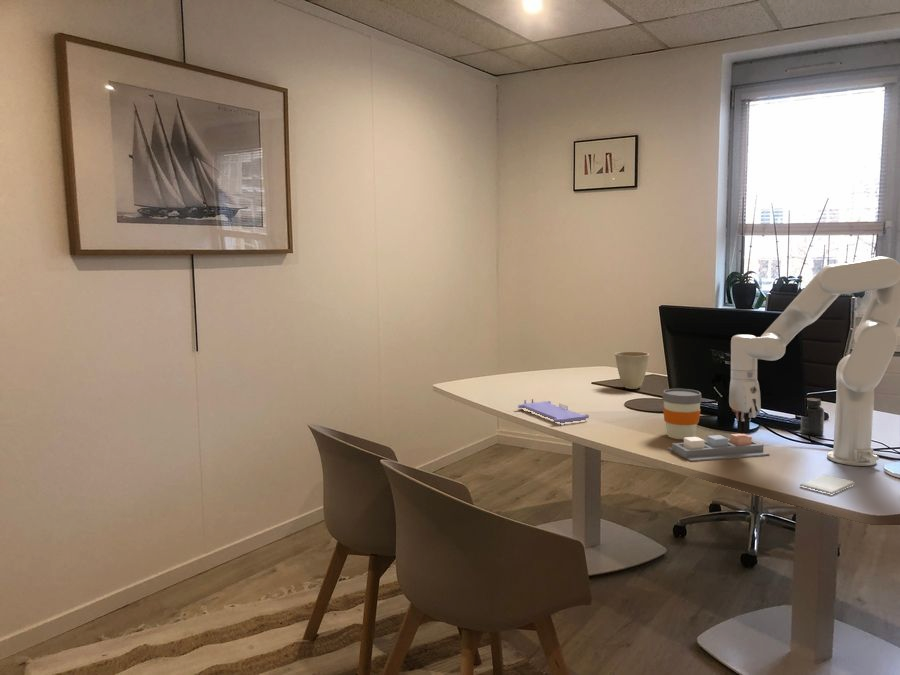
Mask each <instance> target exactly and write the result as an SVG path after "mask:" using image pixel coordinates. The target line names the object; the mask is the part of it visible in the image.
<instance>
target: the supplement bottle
mask: <svg viewBox="0 0 900 675" xmlns="http://www.w3.org/2000/svg"><path fill="white" fill-rule="evenodd" d="M806 398H807V407H808V417H802V416H801V415H800V433H801V434H802V435H803V434H804V436H807V435H809V436H808V437H821V436H823V435H824V431H825V430H824V425H825V423H824V422H825V410H824V408H823V407H822V400H821V398H815V397H806Z"/></svg>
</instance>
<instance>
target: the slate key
mask: <svg viewBox="0 0 900 675" xmlns="http://www.w3.org/2000/svg"><path fill="white" fill-rule="evenodd" d="M706 438H707V439H706V441H707V445H709V446H711V447H724V446H728V439H729V438H727V437H725V436H723V435H721V434H715V435H707V437H706Z"/></svg>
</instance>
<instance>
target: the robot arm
mask: <svg viewBox="0 0 900 675" xmlns="http://www.w3.org/2000/svg"><path fill="white" fill-rule="evenodd" d="M868 291H871V296H870V300H869V302H868V305H867V306H866V309H865V311H864V314H863V315H862V318H861V320H860V323H859V324H858V326H857V328H856V329H855V330H854V331H855V332H854V335H853V337H854V342H855V344H854V346H853V348H852V350H851V352H850V354H847V355H845V356H843V357H842V358H841V359H840V360H839V361H838V364H837V366H836V374H835V375H836V376H835V377H836V378H835V379H836V383H835V384H836V396H835V397H836V398H835V399H836V400H835V409H834V410H835V411H834V414H835V415H834V431H833V432H834V433H833V449H832V450H831V451H829V452H827V455H826V457H827V459H829V460H830V461H832V462H835V463H837V464H841V465H847V466H852V467H853V466H856V467H869V466H874V465H876V464H877V461H879V460H880V457H879V455H876V454H874V448H872V437H873V436H872V434H873V420H874V419H873V417H874V416H873V415H874V405H875V388H876V387H877V386H878V385H879V384H880V382H881V380H882V379H883V376H885V373H886V371H887V369H888V367H889V365H890V363H891V360H892V359H893V356H894V354H895V352H896V350H897V347H898V341H899V340H898V334H897V331H896V327H897V325H898V323H899V321H900V263H899V261H897V260H896V259H894V258H892V257H888V256H881V255H880V256H875V257H871V258H868V259H866V260H859V261H854V262H847V263H830V264H827V265H826V266H824V267H822V269H820V270H819V271H818V272H817V273H816V275H815V276H814V277H813V278H812V279H811V280H810V281H809V282H808V284H806V286H805V287H804V288H803V289H802V290H801V291H800V292H799V294H797V295H796V297H794V299H793V300H792V301H791V302H790V303H789V304H788V306H786V308H785V309H784V310H783V311H782V313H780V314H779V316H778V317H777V318H776V319H775V320H774V321H773V322H772V323H771V324H770V325H769V326H768V327H767V329H766V330H765V331H764V332H763V333H762V334H761V335H760V336H756V335H753V334H735V335H733V336H732V337H731V340H730V382H729V393H728V403H729V407H730V408H731V411H732V412H734V414H735V417H736V418H735V419H736V423H737V425H736V426H737V428H736V430H737V434H746V435H747V434H750V432H751V431H750V428H751V427H750V424H751V423H750V422H751V421H752V418H756V417H757V414H756V413H760V412H761V408H762V406H761V390H760V383H759V381H758V360H764V361H777V360H779V359H781V358H782V357H784V355H785V354H786V349H787V348H786V347H787V346H788V344H789V343H791V341H792V340H793V339H794V338H795V336H796V335H798V334H799V333H800V332H801V331H802V330H803V329H804V328H806V327H807V326H810V325H812V324H813V323H815V322H816V321H817V320H818V319H819V318H820V317H821V316H822V315H823V313H825V312H826V311H827V309H828V308H829V307H830V306H831V305H832V304H833V303H834V301H835V300H837V298H839V297H840V296H841V295H847V294H855V293H863V292H868Z"/></svg>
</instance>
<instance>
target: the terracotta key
mask: <svg viewBox="0 0 900 675" xmlns="http://www.w3.org/2000/svg"><path fill="white" fill-rule="evenodd" d="M752 438H753V437H752V436H751V435H749V434H747V433H746V434H740V433H731V434H730V437H729V439H730V443H732V444H734V445H736V446H737V445H751V442H752V440H753V439H752Z"/></svg>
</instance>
